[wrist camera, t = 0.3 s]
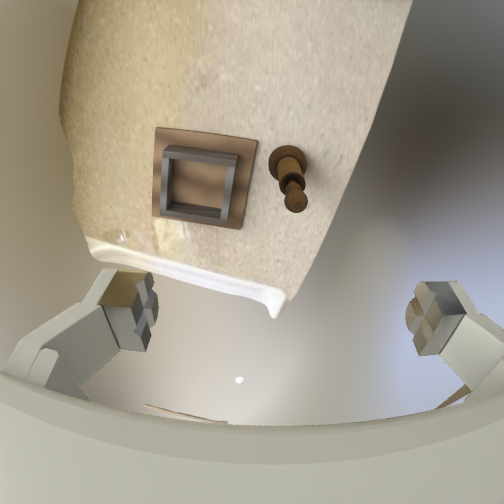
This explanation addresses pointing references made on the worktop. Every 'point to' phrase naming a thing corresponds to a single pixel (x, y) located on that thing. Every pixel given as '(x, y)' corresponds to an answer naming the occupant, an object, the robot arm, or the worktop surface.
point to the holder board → (201, 176)
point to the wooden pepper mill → (290, 176)
